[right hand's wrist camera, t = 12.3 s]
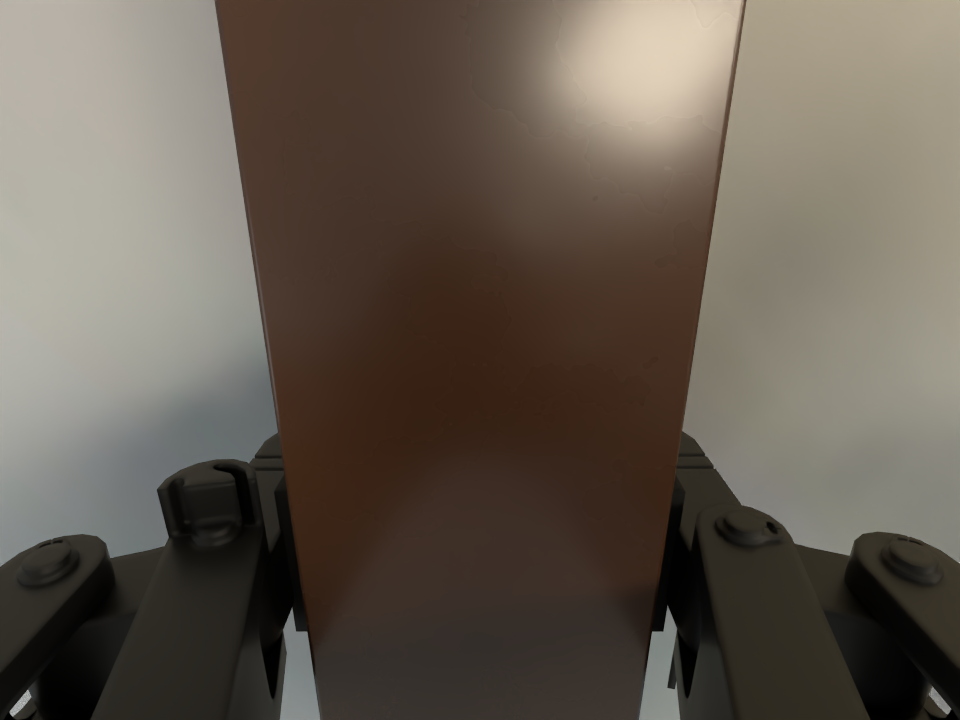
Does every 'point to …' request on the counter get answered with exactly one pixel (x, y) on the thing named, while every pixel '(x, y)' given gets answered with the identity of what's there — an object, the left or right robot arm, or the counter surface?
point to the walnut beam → (480, 329)
